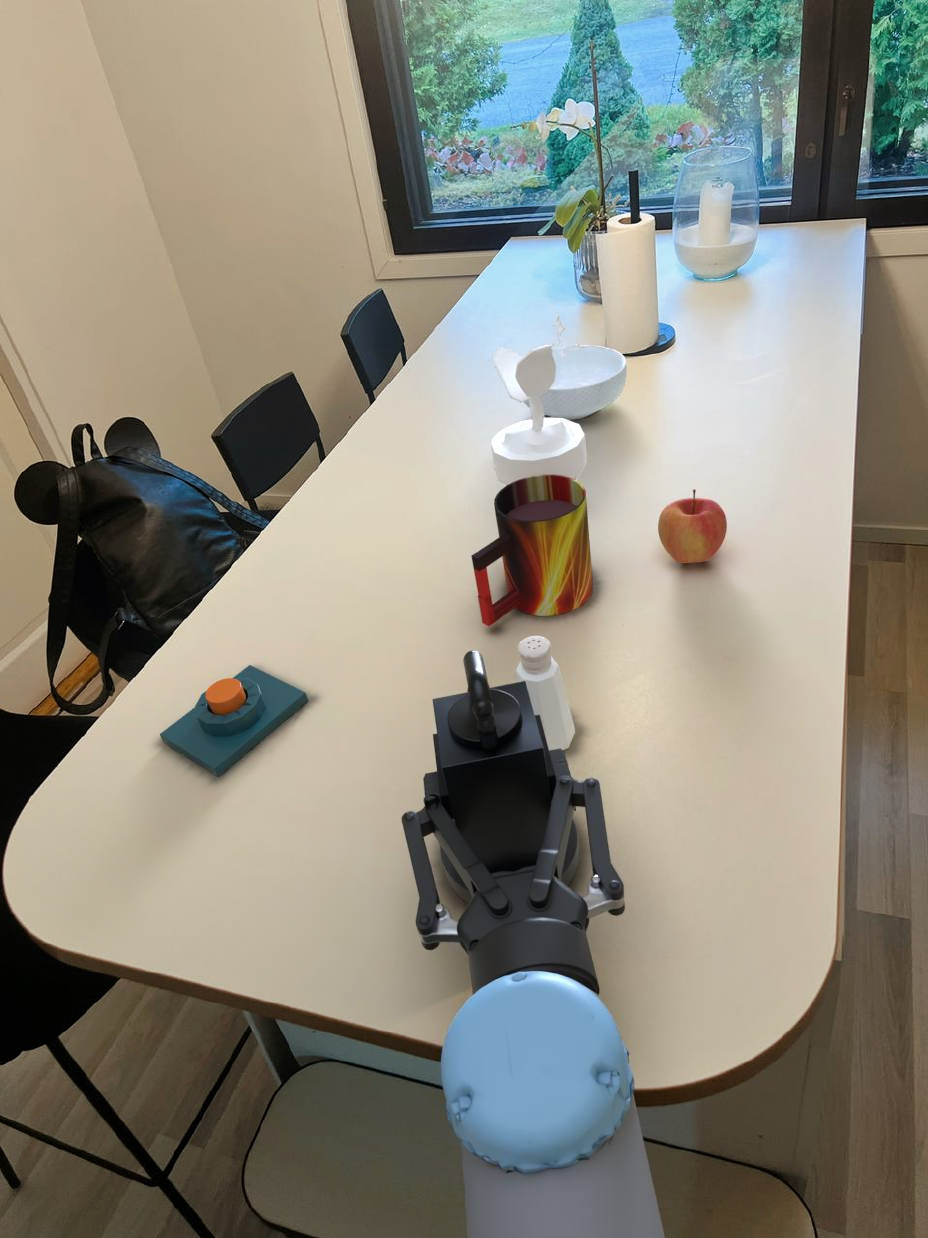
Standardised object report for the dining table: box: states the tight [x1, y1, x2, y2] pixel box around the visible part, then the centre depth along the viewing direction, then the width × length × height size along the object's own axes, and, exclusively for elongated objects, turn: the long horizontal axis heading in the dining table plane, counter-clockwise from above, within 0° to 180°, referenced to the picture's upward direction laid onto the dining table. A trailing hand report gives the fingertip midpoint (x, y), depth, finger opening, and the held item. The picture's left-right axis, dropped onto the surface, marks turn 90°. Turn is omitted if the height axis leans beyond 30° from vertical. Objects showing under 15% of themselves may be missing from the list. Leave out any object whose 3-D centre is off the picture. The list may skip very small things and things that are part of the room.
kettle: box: [432, 649, 551, 873], centre depth 66 cm, size 11×7×17 cm, turn 7°
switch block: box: [159, 664, 309, 778], centre depth 88 cm, size 12×9×3 cm
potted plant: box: [490, 313, 588, 486], centre depth 106 cm, size 13×12×25 cm
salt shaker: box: [515, 635, 577, 751], centre depth 77 cm, size 5×5×11 cm
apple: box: [657, 488, 728, 564], centre depth 96 cm, size 7×7×8 cm
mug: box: [471, 475, 594, 628], centre depth 93 cm, size 10×14×12 cm
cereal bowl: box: [523, 345, 628, 421], centre depth 132 cm, size 17×17×7 cm
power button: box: [205, 677, 246, 715], centre depth 87 cm, size 4×4×2 cm
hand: (488, 736), depth 70 cm, fingers closed on kettle, 7 cm apart
